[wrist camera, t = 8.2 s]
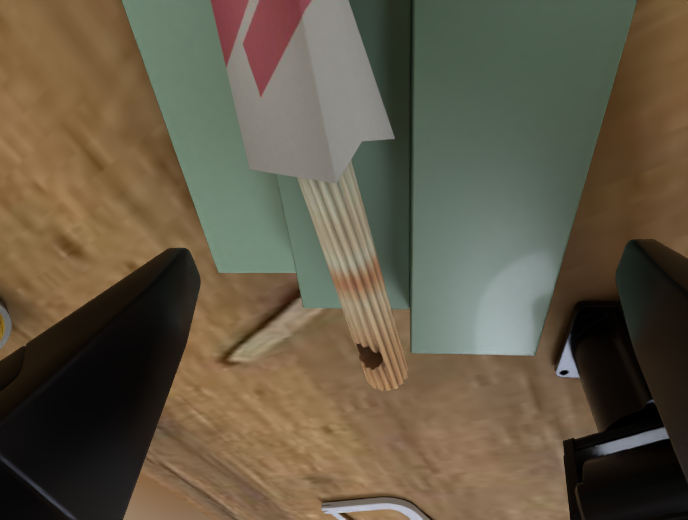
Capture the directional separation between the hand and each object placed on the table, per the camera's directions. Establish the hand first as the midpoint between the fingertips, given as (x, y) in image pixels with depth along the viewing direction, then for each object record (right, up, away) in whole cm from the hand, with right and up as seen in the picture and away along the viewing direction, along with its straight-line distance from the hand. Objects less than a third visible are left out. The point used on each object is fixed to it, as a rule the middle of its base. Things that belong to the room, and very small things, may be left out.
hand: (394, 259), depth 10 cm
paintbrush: (-1, +4, +5) cm, 7 cm away
